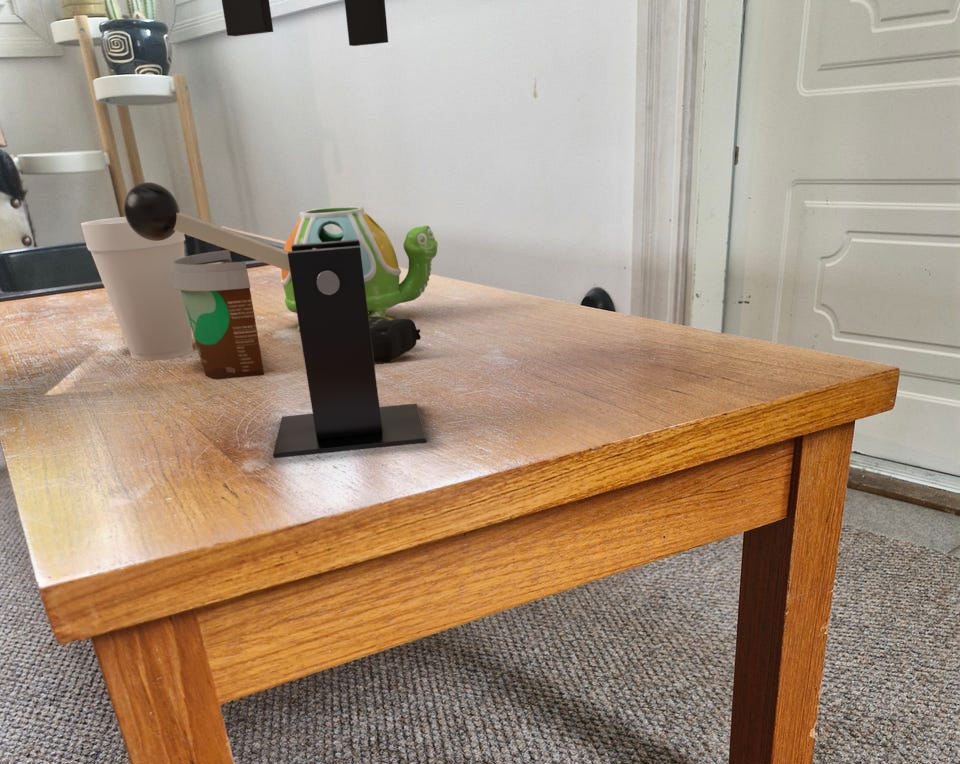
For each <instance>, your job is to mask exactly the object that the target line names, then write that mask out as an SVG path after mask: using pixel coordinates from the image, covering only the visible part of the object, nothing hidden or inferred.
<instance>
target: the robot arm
mask: <svg viewBox="0 0 960 764" xmlns="http://www.w3.org/2000/svg"><path fill="white" fill-rule="evenodd" d="M221 4H222V11H223V18H224V24H225V31H226V35H227V36H228V37H240V36H249V35H258V34H268V33H274V27H273V26H274V25H273V19H272V13H271V11H272V10H271V6H270V0H221ZM344 8H345V9H344V10H345V17H346V28H347V36H348V38H347V39H348V45H349V46H350V47H358V46H367V45H379V44H387V43H389V34H388V22H387V12H386V0H344Z"/></svg>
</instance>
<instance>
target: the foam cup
mask: <svg viewBox="0 0 960 764" xmlns="http://www.w3.org/2000/svg"><path fill="white" fill-rule="evenodd" d="M80 225H81V230H82V233H83V236H84V241H85V244H86V248H87V251H89V252H90V253H91V256H92V259H93V261H94V264H95V267H96V269H97V272H98V274H99V277H100V279H101V282H102V285H103V288H104V290H105V293H106V295H107V298H108V300H109V302H110V306H111V308H112V310H113V313H114V315H115V318H116V320H117V324H118V326H119V328H120V332H121V334H122V336H123V338H124V341H125V343H126V346H127V349H128V352H129V353H130V356H131V358H132V360H134V361H158V360H159V361H160V360H168V359H173V358H178V357H182V356H185V355H189V354H190V353H192V352H193V351H194V348H193V344H194V342H193V331H192V328H191V324H190V321H189V317H188V314H187V311H186V307H185V304H184V300H183V297H182V293H181V290H177V289H174V288H173V287H172V269H173V268H174V261H175V260H177V259H179V258H183V257H186V255H185V244H184V242H185V241H186V237H185V234H183V233H181V232H178V231H175V232H174V234H173V235H171V236H170V237H169V238H167V239H164V240H160V241H152V240H148V239H145V238H143V237H141V236H140V235H138V234H137V233H136V232H135V231H134V230H133V229H132V228H131V227H130V225H129V223H128V222H127V219H126V216H121V217H120V216H119V217H111V218H103V219H96V220H89V221H85V222H81V223H80Z"/></svg>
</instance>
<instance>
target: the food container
mask: <svg viewBox="0 0 960 764" xmlns="http://www.w3.org/2000/svg"><path fill="white" fill-rule="evenodd" d="M172 287H173V288H174V289H177V290H181V293H182V297H183V300H184V304H185V307H186V311H187V314H188V317H189V321H190V324H191V331H192V336H193V338H194V341H195V345H196V349H197V352H198V355H199V359H200V363H201V365H202V369H203V373H204V376H205V377H207V378H209V379H212V380H229V379H239V378H249V377H259V376H265V368H264V363H263V357H262V351H261V345H260V339H259V334H258V328H257V323H256V316H255V311H254V304H253V299H252V294H251V293H252V292H251V282H250V278H249V272H248V269H247V264H246V261H235V260H234V261H232V255H231V250H228V249H225V250H219V251H218V250H217V251H211V252H210V251H209V252H203V253H198V254H192V255H188V256H185V257H183V258H179V259H177V260H175V261H174V268H173V269H172Z"/></svg>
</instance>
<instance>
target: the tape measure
mask: <svg viewBox="0 0 960 764" xmlns="http://www.w3.org/2000/svg"><path fill="white" fill-rule="evenodd" d="M369 324H370V332H371V341H372V349H373V357H374V364H378V363H383V364H391V363H392V361H394V360H396V359H398V358H399V357H402V355H404V354H406V353H408V352H410V351H411V350H412V349H414V348H415V346H416V345H417V342H418V341H420V340H421V334H420V333H421V329H420V328H419V329H417V326H416V323H415V321H414V320H413V319H411V318H394V317H389V316H385V317H383V316H372V317H369Z"/></svg>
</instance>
